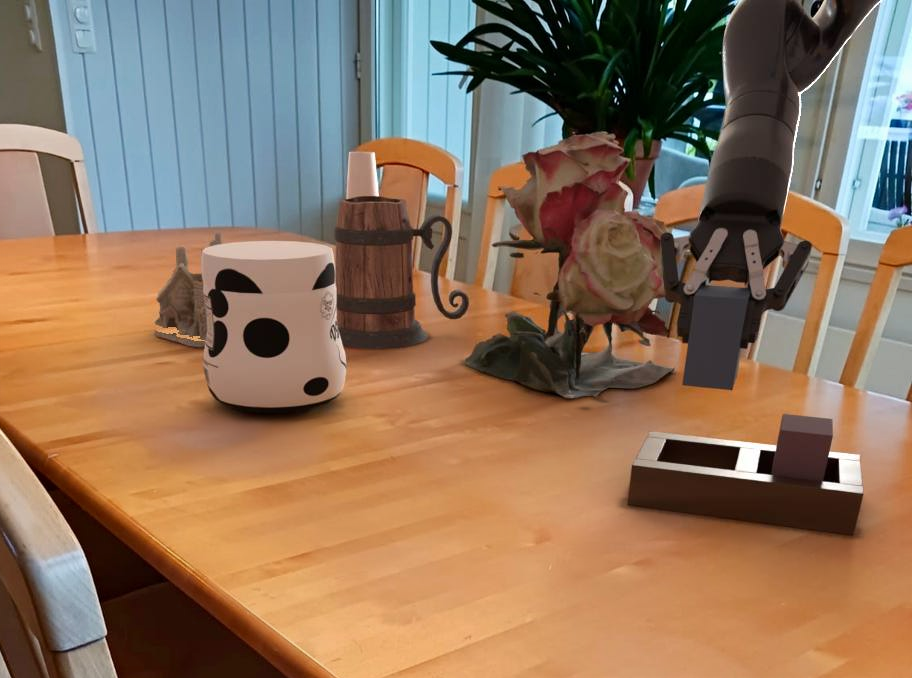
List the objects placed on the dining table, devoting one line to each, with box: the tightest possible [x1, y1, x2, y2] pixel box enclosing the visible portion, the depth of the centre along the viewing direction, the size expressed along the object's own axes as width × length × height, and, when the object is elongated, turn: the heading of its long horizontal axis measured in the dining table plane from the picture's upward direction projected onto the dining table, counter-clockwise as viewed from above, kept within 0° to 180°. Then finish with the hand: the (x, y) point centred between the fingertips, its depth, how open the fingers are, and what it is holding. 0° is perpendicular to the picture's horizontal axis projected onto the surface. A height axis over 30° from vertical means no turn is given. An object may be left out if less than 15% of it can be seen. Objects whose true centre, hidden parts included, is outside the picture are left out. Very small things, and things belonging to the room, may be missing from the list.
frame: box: [626, 430, 865, 536], centre depth 94 cm, size 11×20×4 cm, turn 71°
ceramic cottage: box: [154, 232, 224, 348], centre depth 150 cm, size 16×16×15 cm
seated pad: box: [771, 413, 834, 481], centre depth 92 cm, size 6×4×8 cm
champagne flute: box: [345, 151, 380, 199], centre depth 185 cm, size 7×7×24 cm
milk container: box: [200, 240, 347, 414], centre depth 117 cm, size 17×17×18 cm
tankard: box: [333, 195, 470, 349], centre depth 150 cm, size 24×17×20 cm
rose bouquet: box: [449, 131, 676, 400], centre depth 130 cm, size 26×29×30 cm
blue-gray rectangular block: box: [681, 284, 751, 391], centre depth 89 cm, size 6×4×8 cm
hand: (715, 340), depth 87 cm, fingers closed on blue-gray rectangular block, 4 cm apart
